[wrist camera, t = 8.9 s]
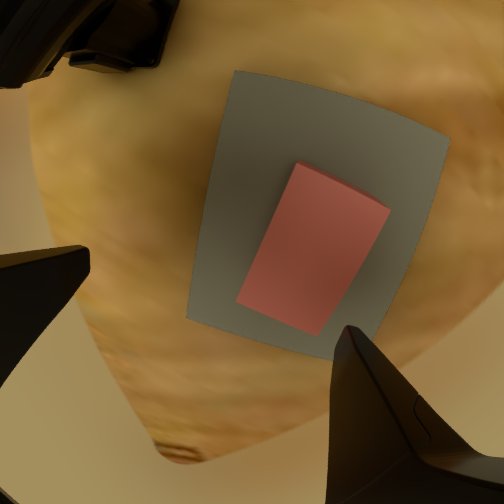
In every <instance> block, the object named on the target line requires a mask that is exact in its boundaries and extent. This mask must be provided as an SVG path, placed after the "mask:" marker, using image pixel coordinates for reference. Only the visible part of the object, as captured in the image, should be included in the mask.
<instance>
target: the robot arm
mask: <svg viewBox="0 0 504 504" xmlns="http://www.w3.org/2000/svg"><path fill="white" fill-rule="evenodd" d="M178 2H179V0H0V89H17V88H21V87H22V85H23V84H24V83H27V82H30V81H33V80H36V79H40V78H44V77H48V76H49V75H50V74H51V73H52V71H53V70H54V66H55V65H56V64H57V63H58V61H59V60H60V59H61V58H62V57H67V58H70V59H69V63H68V64H69V65H70V66H71V67H77V68H82V69H87V70H91V71H96V72H101V73H128V72H129V71H131V68H155V67H156V66H157V65H158V64H159V61H160V58H161V54H162V51H163V47H164V44H165V41H166V37H167V34H168V31H169V28H170V25H171V22H172V19H173V16H174V13H175V10H176V7H177V5H178ZM152 59H154V61H153V63H152V64H150V62H151V60H152ZM89 273H90V251H89V249H88V248H87V247H85V246H82V245H73V246H65V247H57V248H49V249H42V250H33V251H26V252H18V253H12V254H4V255H0V388H1V386H2V385H3V382H5V380H6V379H7V378H8V376H9V375H10V373H11V372H12V371H13V369H14V368H15V367H16V365H17V364H18V363H19V361H20V360H21V359H22V357H23V356H24V355H25V354H26V352H27V351H28V350H29V348H30V347H31V346H32V344H33V343H34V342H35V341H36V340H37V338H38V337H39V336H40V335H41V333H42V332H43V331H44V330H45V329H46V327H47V326H48V325H49V324H50V323H51V322H52V320H53V319H54V318H55V317H56V316H57V314H58V313H59V312H60V311H61V310H62V309H63V308H64V306H65V305H66V304H67V303H68V302H69V300H70V299H71V298H72V296H73V295H74V294H75V292H76V291H77V289H78V288H79V287H80V285H81V284H82V283H83V281H84V280H85V279H86V278H87V276H88V275H89ZM329 418H330V419H329V453H328V473H327V489H326V500H325V501H326V502H325V504H504V458H500V457H491V456H486V455H483V454H481V453H479V452H477V451H476V450H474V449H473V448H472V447H471V446H470V445H469V444H468V443H466V441H465V440H464V439H463V438H462V437H461V436H459V435H458V434H457V433H456V432H455V431H454V430H453V429H452V428H451V427H450V426H449V425H448V424H447V423H446V422H445V421H444V420H443V419H442V418H441V417H440V416H439V415H438V414H437V413H436V412H435V411H434V410H433V409H432V407H431V406H430V405H429V404H428V403H427V402H426V401H425V400H424V399H423V397H422V396H421V395H418V392H417V391H416V390H415V388H414V387H413V386H412V385H411V384H410V383H409V382H408V381H407V380H406V378H405V377H404V376H403V375H402V374H401V373H400V372H399V371H398V370H397V368H396V367H395V366H394V365H393V364H392V363H391V362H390V361H389V360H388V359H387V358H386V356H385V355H384V354H383V353H382V352H381V351H380V350H379V349H378V348H377V347H376V346H375V344H374V343H373V342H372V341H371V340H370V339H369V338H368V337H367V336H366V335H365V334H364V333H363V331H362V330H361V329H360V328H359V327H356V326H352V325H346V326H345V327H344V329H343V331H342V333H341V335H340V337H339V339H338V341H337V344H336V346H335V350H334V358H333V367H332V376H331V384H330V417H329ZM0 504H19V503H18V502H16V501H15V500H14V499H13V498H12V497H11V496H10V495H8V494H7V493H6V492H5V491H4V490H3V489H2V488H1V487H0Z"/></svg>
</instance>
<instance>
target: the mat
mask: <svg viewBox="0 0 504 504" xmlns="http://www.w3.org/2000/svg"><path fill="white" fill-rule="evenodd" d="M449 142H450V138H449V137H447V136H445V135H443V134H441V133H439V132H437V131H435V130H433V129H431V128H429V127H426V126H424V125H422V124H420V123H418V122H415V121H413V120H411V119H409V118H406V117H404V116H401V115H399V114H397V113H394V112H392V111H389V110H386V109H384V108H381V107H378V106H376V105H373V104H370V103H367V102H365V101H362V100H359V99H356V98H353V97H350V96H346V95H343V94H340V93H337V92H333V91H330V90H326V89H323V88H319V87H315V86H312V85H308V84H304V83H299V82H295V81H291V80H286V79H282V78H277V77H272V76H267V75H262V74H256V73H250V72H244V71H237V70H235V71H234V75H233V79H232V83H231V87H230V91H229V95H228V99H227V103H226V107H225V111H224V115H223V119H222V124H221V128H220V132H219V137H218V141H217V146H216V150H215V155H214V159H213V164H212V169H211V174H210V179H209V184H208V189H207V194H206V199H205V204H204V209H203V215H202V220H201V226H200V231H199V237H198V243H197V249H196V255H195V261H194V267H193V273H192V280H191V287H190V293H189V300H188V307H187V315H186V318H188V319H190V320H193V321H196V322H199V323H202V324H205V325H208V326H211V327H214V328H217V329H220V330H223V331H226V332H229V333H232V334H236V335H239V336H242V337H245V338H248V339H252V340H255V341H259V342H262V343H265V344H269V345H272V346H276V347H279V348H283V349H287V350H290V351H294V352H298V353H302V354H306V355H309V356H313V357H317V358H322V359H326V360H330V361H333V358H334V350H335V346H336V344H337V341H338V339H339V337H340V335H341V333H342V331H343V329H344V327H345V326H346V325H352V326H356V327H359V328H360V329H361V330H362V331H363V333H364V334H365V335H366V336H367V337H368V338H369V339H370V340H371V341H372V339H373V337H374V335H375V334H376V332H377V330H378V328H379V326H380V324H381V322H382V320H383V318H384V317H385V315H386V313H387V311H388V309H389V307H390V305H391V303H392V301H393V298H394V296H395V294H396V292H397V290H398V288H399V286H400V284H401V281H402V279H403V277H404V275H405V272H406V270H407V268H408V266H409V263H410V261H411V258H412V256H413V254H414V251H415V249H416V246H417V244H418V241H419V239H420V236H421V233H422V231H423V228H424V225H425V222H426V220H427V217H428V214H429V211H430V208H431V205H432V202H433V199H434V196H435V193H436V190H437V186H438V183H439V180H440V176H441V173H442V169H443V166H444V162H445V158H446V154H447V150H448V146H449ZM299 160H301V161H304V162H306V163H308V164H310V165H313V166H315V167H317V168H319V169H321V170H323V171H325V172H328V173H330V174H332V175H334V176H336V177H338V178H340V179H342V180H344V181H346V182H348V183H350V184H352V185H354V186H356V187H358V188H360V189H362V190H364V191H366V192H367V193H369V194H371V195H373V196H375V197H376V198H377V199H378V200H380V201H381V202H382V203H383V204H385V205H386V206H387V207H388V208H389V209H391V211H390V213H389V215H388V217H387V219H386V221H385V223H384V225H383V227H382V229H381V231H380V232H379V234H378V236H377V238H376V240H375V242H374V244H373V245H372V247H371V249H370V251H369V253H368V254H367V256H366V258H365V260H364V262H363V263H362V265H361V267H360V269H359V270H358V272H357V274H356V275H355V277H354V279H353V280H352V282H351V284H350V285H349V287H348V289H347V290H346V292H345V294H344V295H343V297H342V299H341V300H340V302H339V303H338V305H337V307H336V308H335V310H334V311H333V313H332V314H331V316H330V318H329V319H328V321H327V322H326V324H325V325H324V327H323V328H322V330H321V331H320V333H319V334H318V336H314V335H312V334H309V333H307V332H304V331H302V330H300V329H297V328H295V327H292V326H290V325H288V324H285V323H283V322H281V321H278V320H276V319H274V318H271V317H269V316H267V315H264V314H262V313H260V312H258V311H255V310H253V309H251V308H249V307H246V306H244V305H242V304H240V303H237V302H236V299H237V297H238V295H239V293H240V290H241V288H242V286H243V284H244V281H245V279H246V277H247V274H248V272H249V270H250V268H251V265H252V263H253V261H254V259H255V256H256V254H257V252H258V250H259V247H260V245H261V243H262V241H263V238H264V236H265V234H266V232H267V229H268V227H269V225H270V222H271V220H272V218H273V216H274V213H275V211H276V209H277V207H278V204H279V202H280V200H281V197H282V195H283V193H284V191H285V188H286V186H287V184H288V181H289V179H290V177H291V175H292V172H293V170H294V168H295V166H296V163H297V162H298V161H299Z"/></svg>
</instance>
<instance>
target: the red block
mask: <svg viewBox="0 0 504 504" xmlns="http://www.w3.org/2000/svg"><path fill="white" fill-rule="evenodd" d="M390 211H391V209H389V208H388V207H387V206H386V205H385V204H383V203H382V202H381V201H380V200H378V199H377V198H376V197H375V196H373V195H371V194H369V193H367V192H366V191H364V190H362V189H360V188H358V187H356V186H354V185H352V184H350V183H348V182H346V181H344V180H342V179H340V178H338V177H336V176H334V175H332V174H330V173H328V172H325V171H323V170H321V169H319V168H317V167H315V166H313V165H310V164H308V163H306V162H304V161H301V160H299V161H298V162H297V163H296V166H295V168H294V170H293V172H292V175H291V177H290V179H289V181H288V184H287V186H286V188H285V191H284V193H283V195H282V197H281V200H280V202H279V204H278V207H277V209H276V211H275V213H274V216H273V218H272V220H271V222H270V225H269V227H268V229H267V232H266V234H265V236H264V238H263V241H262V243H261V245H260V247H259V250H258V252H257V254H256V256H255V259H254V261H253V263H252V265H251V268H250V270H249V272H248V274H247V277H246V279H245V281H244V284H243V286H242V288H241V290H240V293H239V295H238V297H237V299H236V302H237V303H240V304H242V305H244V306H246V307H249V308H251V309H253V310H255V311H258V312H260V313H262V314H264V315H267V316H269V317H271V318H274V319H276V320H278V321H281V322H283V323H285V324H288V325H290V326H292V327H295V328H297V329H300V330H302V331H304V332H307V333H309V334H312V335H314V336H318V334H319V333H320V331H321V330H322V328H323V327H324V325H325V324H326V322H327V321H328V319H329V318H330V316H331V314H332V313H333V311H334V310H335V308H336V307H337V305H338V303H339V302H340V300H341V299H342V297H343V295H344V294H345V292H346V290H347V289H348V287H349V285H350V284H351V282H352V280H353V279H354V277H355V275H356V274H357V272H358V270H359V269H360V267H361V265H362V263H363V262H364V260H365V258H366V256H367V254H368V253H369V251H370V249H371V247H372V245H373V244H374V242H375V240H376V238H377V236H378V234H379V232H380V231H381V229H382V227H383V225H384V223H385V221H386V219H387V217H388V215H389V213H390Z"/></svg>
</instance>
